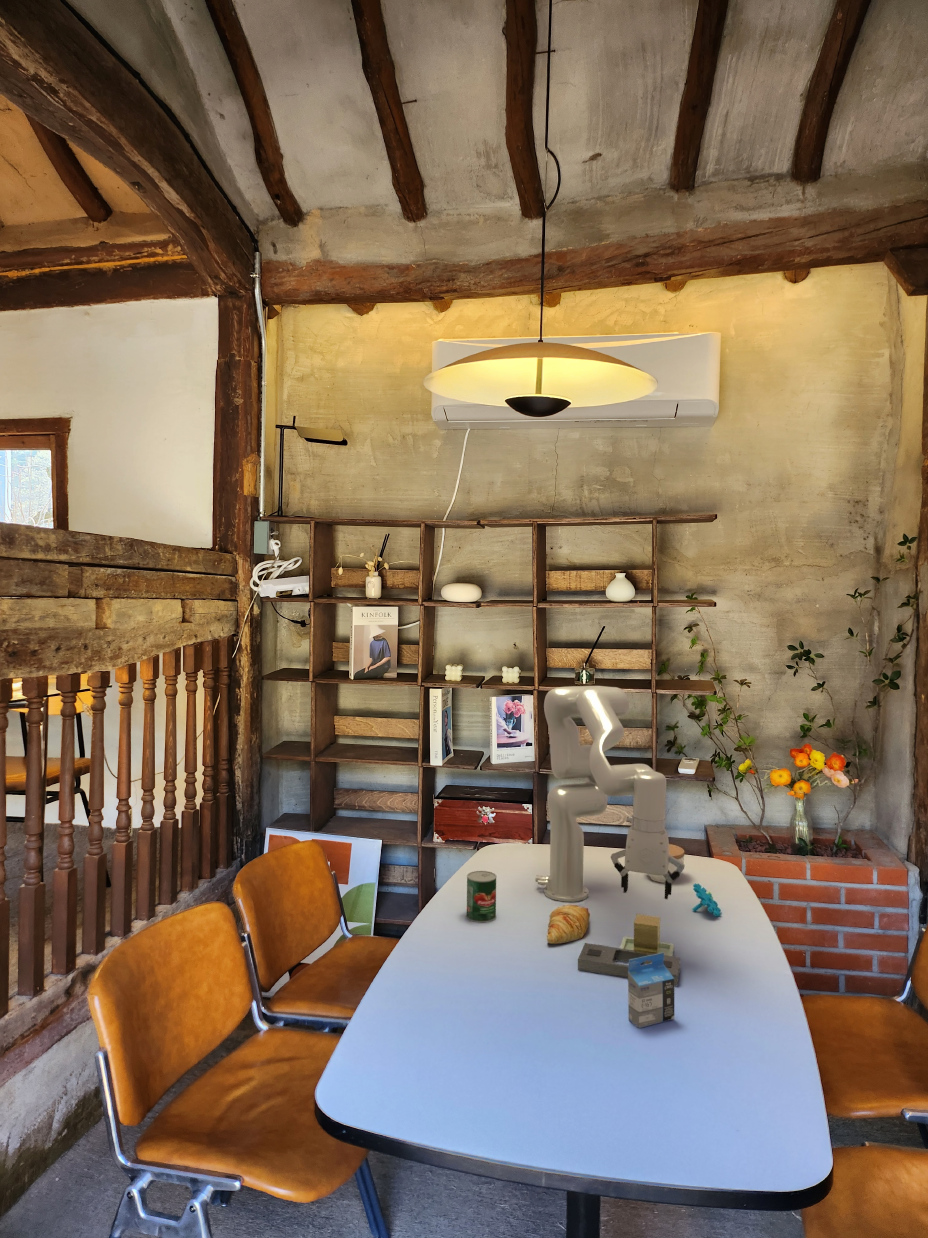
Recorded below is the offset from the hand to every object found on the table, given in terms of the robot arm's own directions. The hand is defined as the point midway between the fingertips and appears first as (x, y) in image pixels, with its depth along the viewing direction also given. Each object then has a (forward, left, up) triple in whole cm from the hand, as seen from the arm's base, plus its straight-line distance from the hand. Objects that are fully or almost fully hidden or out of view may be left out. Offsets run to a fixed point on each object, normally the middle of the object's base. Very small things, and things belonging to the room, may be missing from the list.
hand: (645, 894), depth 189 cm
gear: (+13, +31, -15) cm, 36 cm away
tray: (+1, -1, -14) cm, 14 cm away
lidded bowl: (0, +53, -14) cm, 55 cm away
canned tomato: (-43, +6, -14) cm, 46 cm away
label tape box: (+5, -31, -14) cm, 34 cm away
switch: (-2, -10, -14) cm, 18 cm away
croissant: (-20, +5, -15) cm, 25 cm away
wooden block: (0, -1, -14) cm, 14 cm away
